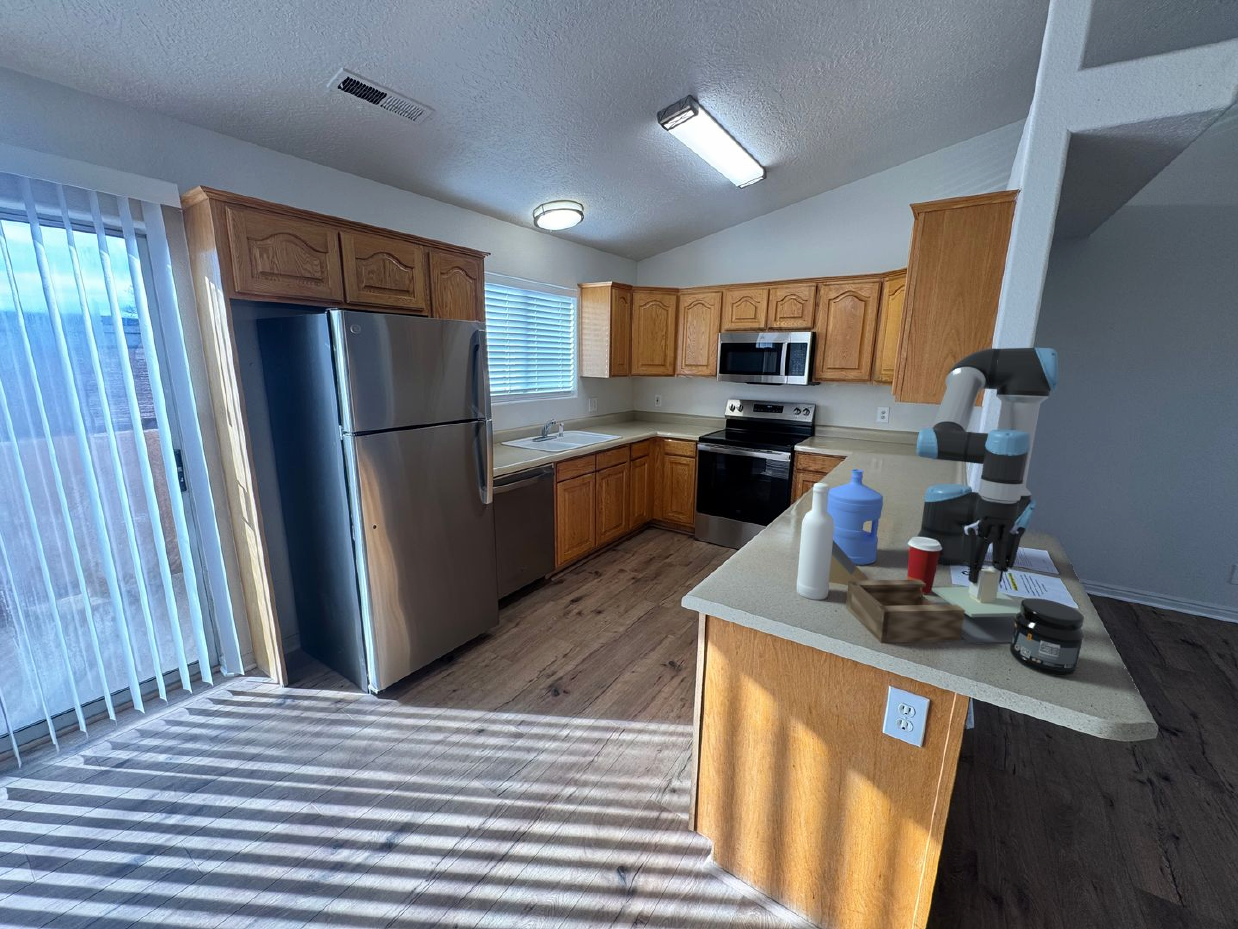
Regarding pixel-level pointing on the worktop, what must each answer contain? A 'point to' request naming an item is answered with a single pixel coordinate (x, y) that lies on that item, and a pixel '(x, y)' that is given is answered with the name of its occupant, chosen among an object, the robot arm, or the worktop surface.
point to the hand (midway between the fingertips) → (982, 594)
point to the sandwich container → (843, 568)
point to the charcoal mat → (985, 629)
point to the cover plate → (977, 607)
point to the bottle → (816, 547)
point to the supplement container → (1047, 636)
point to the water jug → (855, 518)
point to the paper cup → (923, 561)
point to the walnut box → (902, 612)
